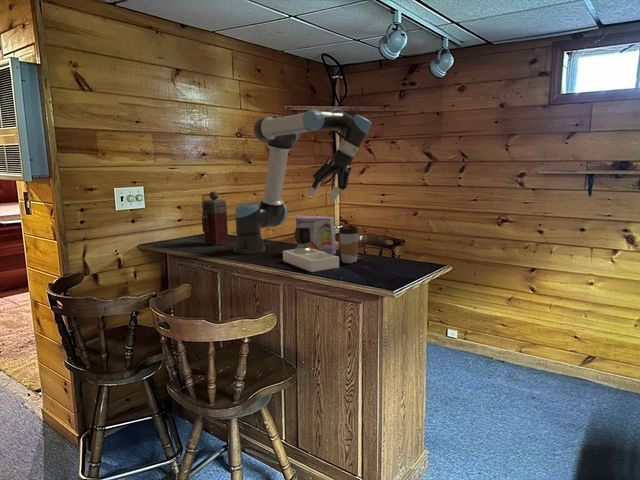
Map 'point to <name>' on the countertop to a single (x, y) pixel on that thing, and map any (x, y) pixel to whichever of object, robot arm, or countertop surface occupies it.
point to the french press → (214, 220)
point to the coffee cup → (349, 243)
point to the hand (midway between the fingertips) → (321, 198)
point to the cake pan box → (316, 233)
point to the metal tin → (302, 250)
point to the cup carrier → (312, 260)
